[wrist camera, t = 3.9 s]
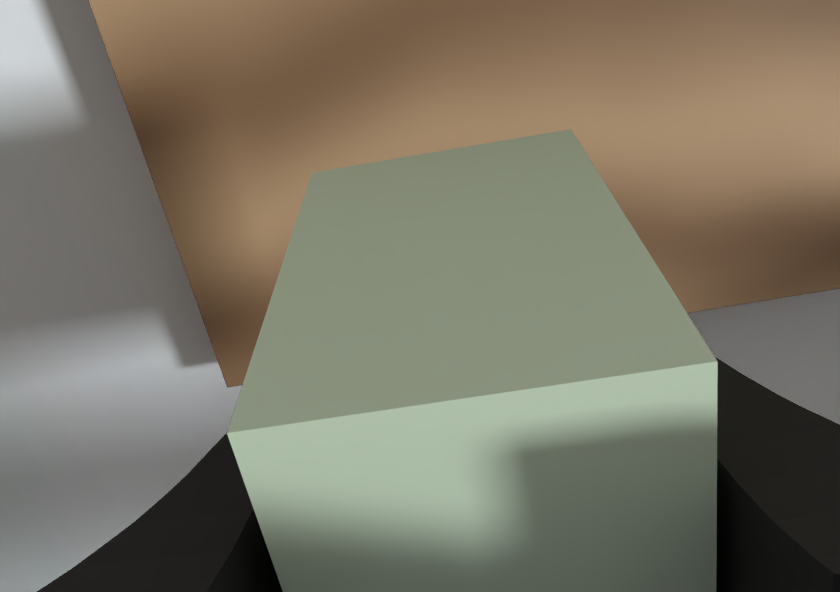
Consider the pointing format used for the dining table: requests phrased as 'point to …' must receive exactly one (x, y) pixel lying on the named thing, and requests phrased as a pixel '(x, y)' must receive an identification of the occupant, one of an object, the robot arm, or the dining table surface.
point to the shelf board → (490, 124)
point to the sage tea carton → (478, 387)
